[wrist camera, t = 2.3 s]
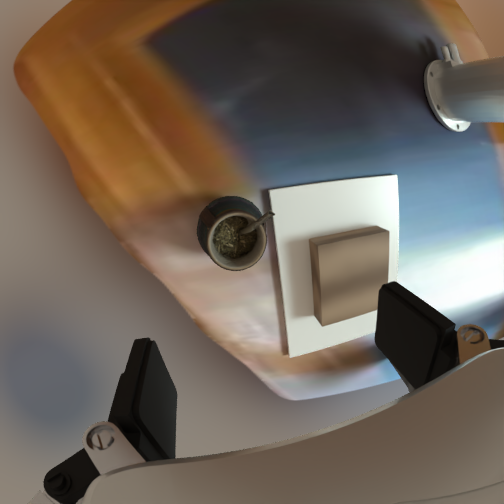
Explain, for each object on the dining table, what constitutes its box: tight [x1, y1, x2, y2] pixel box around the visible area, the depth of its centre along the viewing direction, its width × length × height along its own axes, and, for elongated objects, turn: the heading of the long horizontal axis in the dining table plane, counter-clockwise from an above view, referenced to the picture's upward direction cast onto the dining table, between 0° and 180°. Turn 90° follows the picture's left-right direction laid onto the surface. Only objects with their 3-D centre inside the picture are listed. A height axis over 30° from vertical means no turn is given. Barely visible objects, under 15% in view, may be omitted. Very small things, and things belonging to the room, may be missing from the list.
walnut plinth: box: [309, 226, 389, 327], centre depth 34 cm, size 11×10×3 cm
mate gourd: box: [197, 196, 275, 271], centre depth 27 cm, size 7×8×10 cm
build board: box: [268, 175, 399, 358], centre depth 36 cm, size 24×18×1 cm
